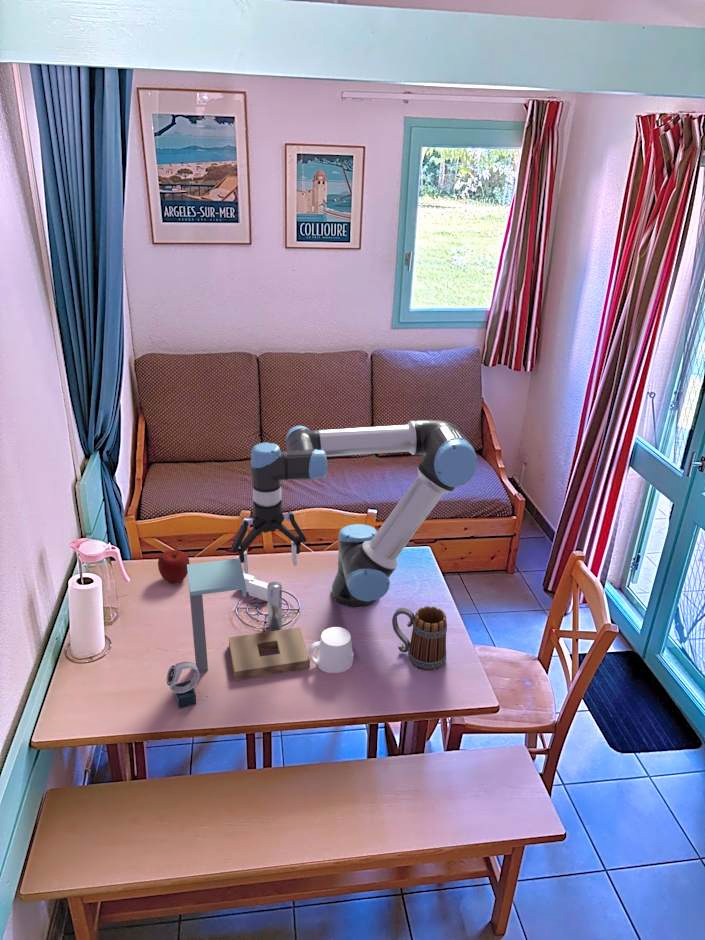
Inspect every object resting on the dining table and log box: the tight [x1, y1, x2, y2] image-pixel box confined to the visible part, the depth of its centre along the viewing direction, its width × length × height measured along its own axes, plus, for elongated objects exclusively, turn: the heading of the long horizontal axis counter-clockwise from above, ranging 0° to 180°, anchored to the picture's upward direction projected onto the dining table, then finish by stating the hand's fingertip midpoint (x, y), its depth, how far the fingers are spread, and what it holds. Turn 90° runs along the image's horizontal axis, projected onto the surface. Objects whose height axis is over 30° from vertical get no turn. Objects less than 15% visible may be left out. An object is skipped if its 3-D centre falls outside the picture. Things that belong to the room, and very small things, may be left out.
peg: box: [267, 581, 283, 631], centre depth 208 cm, size 4×4×14 cm
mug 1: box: [308, 626, 354, 674], centre depth 195 cm, size 12×9×8 cm
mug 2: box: [391, 605, 448, 672], centre depth 197 cm, size 16×11×15 cm
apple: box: [157, 549, 190, 585], centre depth 227 cm, size 10×10×10 cm
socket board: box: [228, 627, 311, 682], centre depth 198 cm, size 20×14×3 cm
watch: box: [166, 661, 201, 709], centre depth 181 cm, size 6×8×11 cm
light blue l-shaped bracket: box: [187, 557, 247, 673], centre depth 189 cm, size 14×12×29 cm
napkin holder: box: [240, 572, 270, 602], centre depth 224 cm, size 15×11×6 cm
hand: (270, 567), depth 201 cm, fingers open, 13 cm apart
